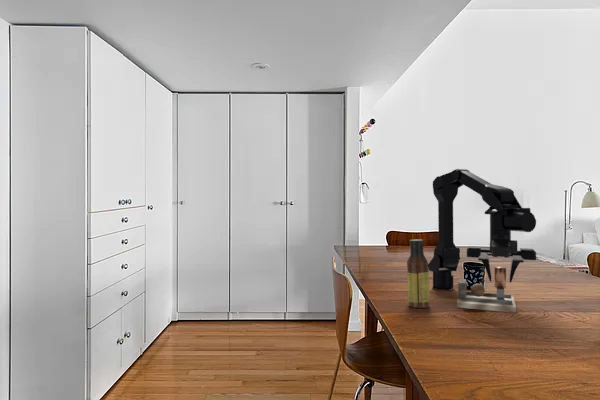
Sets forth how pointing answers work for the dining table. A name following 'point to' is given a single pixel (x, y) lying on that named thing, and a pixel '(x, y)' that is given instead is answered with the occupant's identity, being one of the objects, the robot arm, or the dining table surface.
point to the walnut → (477, 290)
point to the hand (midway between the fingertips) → (500, 281)
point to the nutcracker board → (484, 300)
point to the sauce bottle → (418, 276)
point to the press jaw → (500, 281)
